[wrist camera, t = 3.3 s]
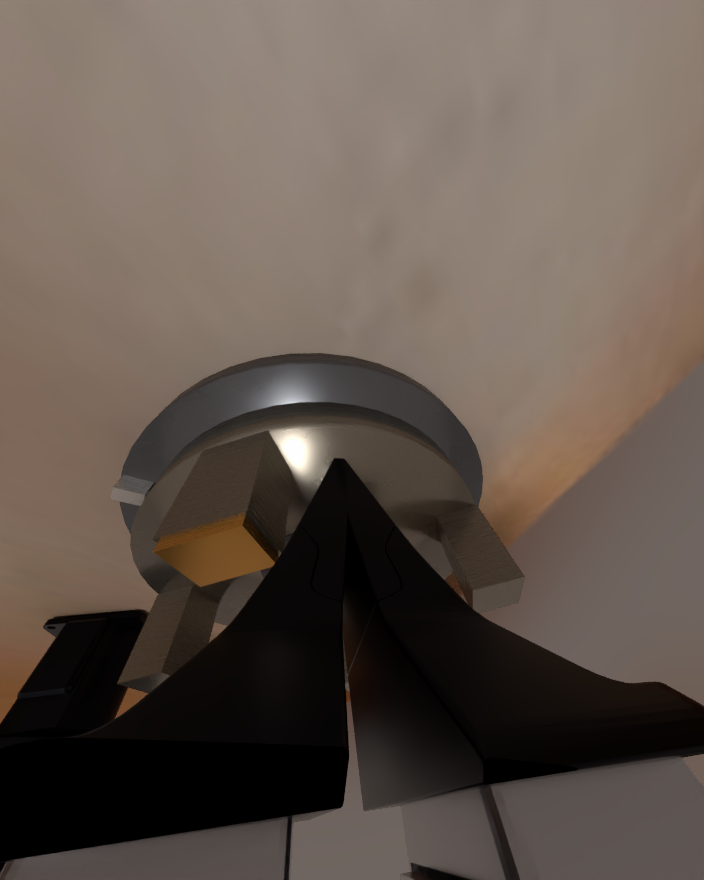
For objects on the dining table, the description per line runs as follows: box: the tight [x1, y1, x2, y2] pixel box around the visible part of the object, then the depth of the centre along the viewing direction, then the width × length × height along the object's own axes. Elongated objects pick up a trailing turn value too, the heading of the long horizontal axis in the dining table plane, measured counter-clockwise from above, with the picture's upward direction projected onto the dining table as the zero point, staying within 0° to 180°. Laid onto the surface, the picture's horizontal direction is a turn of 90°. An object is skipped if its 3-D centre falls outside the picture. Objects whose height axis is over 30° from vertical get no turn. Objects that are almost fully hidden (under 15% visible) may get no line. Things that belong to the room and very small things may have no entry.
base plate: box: [111, 353, 483, 534], centre depth 16 cm, size 20×20×2 cm
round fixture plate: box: [117, 402, 525, 693], centre depth 13 cm, size 17×17×6 cm
